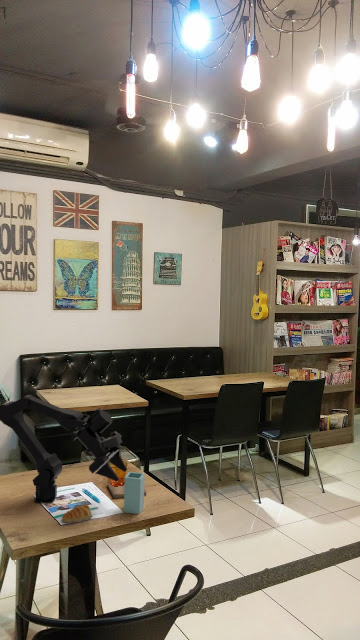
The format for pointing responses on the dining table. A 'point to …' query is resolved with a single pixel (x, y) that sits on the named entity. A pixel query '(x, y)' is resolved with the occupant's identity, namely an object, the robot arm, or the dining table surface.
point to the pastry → (77, 514)
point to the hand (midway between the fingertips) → (122, 475)
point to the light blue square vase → (134, 492)
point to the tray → (118, 491)
